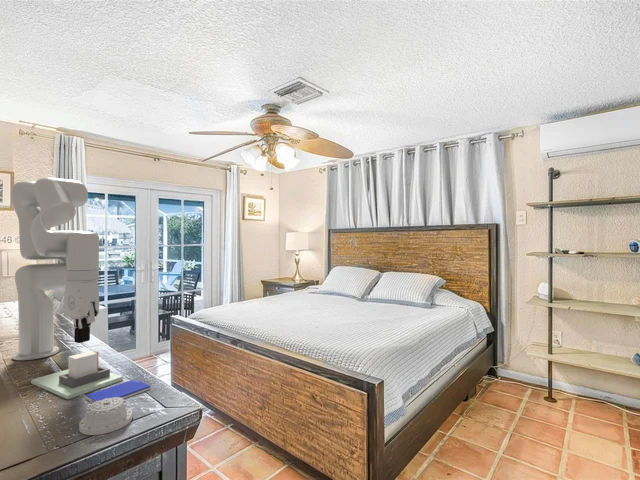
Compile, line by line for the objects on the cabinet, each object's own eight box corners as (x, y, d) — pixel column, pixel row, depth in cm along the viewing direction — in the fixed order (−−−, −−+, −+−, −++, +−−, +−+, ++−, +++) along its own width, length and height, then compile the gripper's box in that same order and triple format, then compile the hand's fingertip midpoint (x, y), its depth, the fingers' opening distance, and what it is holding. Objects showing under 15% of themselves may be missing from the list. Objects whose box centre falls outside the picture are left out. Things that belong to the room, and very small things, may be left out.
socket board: (31, 383, 97) (31, 372, 97) (85, 367, 109) (85, 357, 109) (67, 399, 87) (67, 387, 87) (122, 379, 99) (122, 369, 99)
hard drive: (134, 378, 98) (85, 394, 88) (150, 385, 93) (99, 403, 83) (134, 383, 98) (85, 400, 88) (150, 391, 93) (99, 409, 83)
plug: (68, 382, 95) (68, 356, 95) (93, 374, 101) (93, 350, 101) (75, 385, 93) (75, 359, 93) (101, 377, 99) (100, 352, 99)
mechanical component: (66, 433, 72) (108, 439, 70) (66, 412, 72) (108, 417, 70) (105, 410, 82) (142, 415, 80) (105, 392, 82) (142, 395, 80)
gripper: (54, 275, 97) (53, 340, 98) (82, 279, 90) (81, 350, 90) (83, 272, 104) (82, 334, 104) (111, 276, 96) (111, 342, 97)
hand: (82, 341), depth 97 cm, fingers closed
